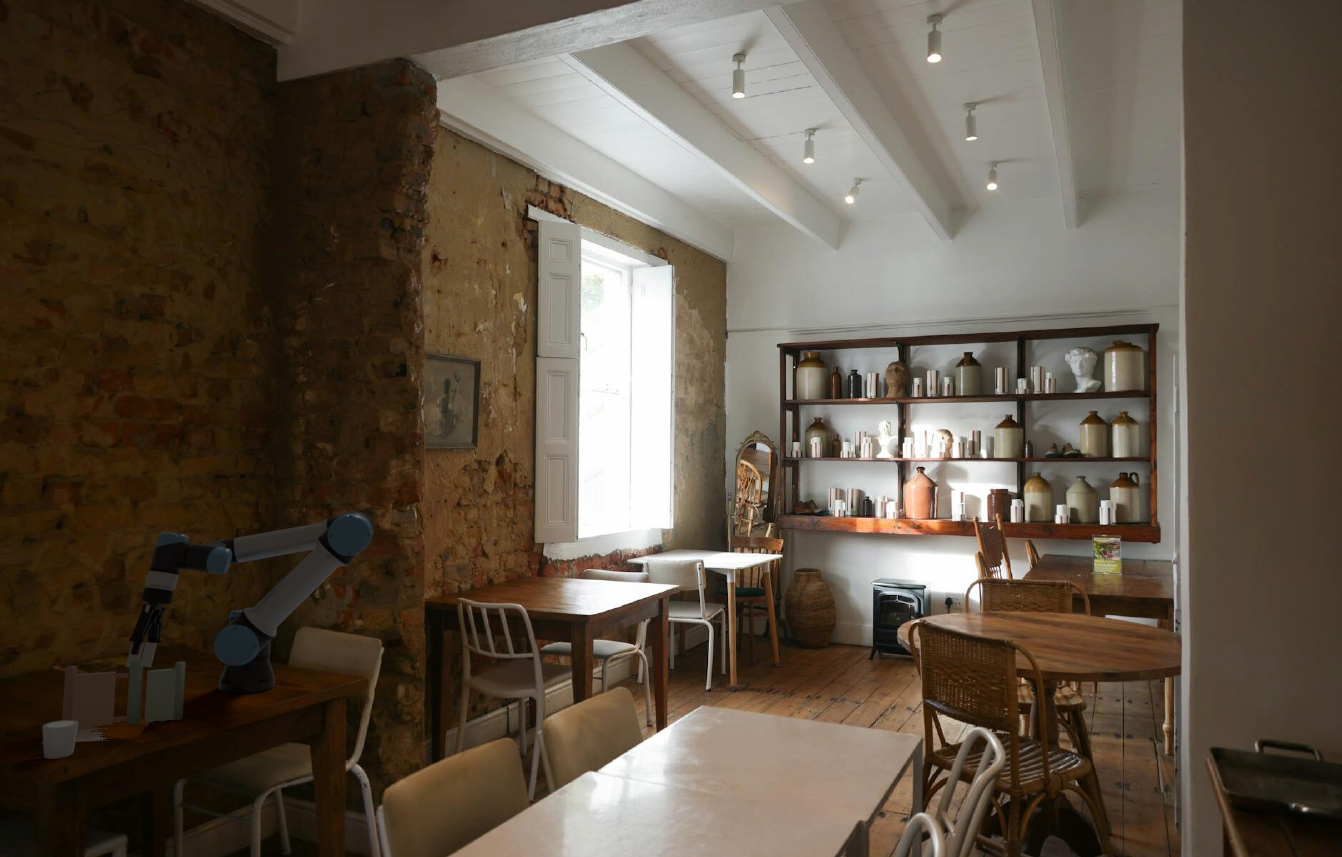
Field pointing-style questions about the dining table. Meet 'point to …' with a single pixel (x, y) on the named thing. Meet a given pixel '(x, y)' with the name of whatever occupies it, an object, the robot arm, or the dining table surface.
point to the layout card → (88, 734)
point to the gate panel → (90, 697)
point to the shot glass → (59, 738)
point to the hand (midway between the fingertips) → (138, 667)
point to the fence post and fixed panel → (156, 693)
